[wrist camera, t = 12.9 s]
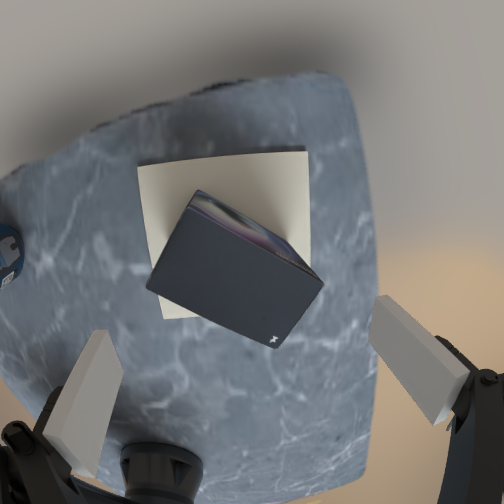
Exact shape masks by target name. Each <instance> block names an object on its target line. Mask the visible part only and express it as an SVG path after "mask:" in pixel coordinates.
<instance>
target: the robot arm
mask: <svg viewBox="0 0 504 504" xmlns="http://www.w3.org/2000/svg"><path fill="white" fill-rule="evenodd" d="M368 342H369V343H370V344H371V345H372V347H373V348H374V349H375V350H376V352H377V353H378V354H379V355H380V357H381V358H382V359H383V361H384V362H385V363H386V364H387V366H388V367H389V368H390V370H391V371H392V372H393V374H394V375H395V376H396V377H397V379H398V380H399V381H400V383H401V384H402V385H403V387H404V388H405V389H406V390H407V392H408V393H409V395H410V396H411V397H412V399H413V400H414V401H415V402H416V404H417V405H418V406H419V408H420V409H421V411H422V412H423V413H424V415H425V416H426V417H427V419H428V420H429V421H430V423H431V424H432V425H433V426H434V425H436V424H438V423H439V422H441V421H443V420H445V419H446V418H447V416H448V415H449V413H450V411H451V410H452V411H453V412H454V413H455V415H454V417H453V418H452V420H451V422H450V424H449V425H448V427H447V429H446V431H448V430H449V429H450V427H451V426H452V429H451V437H450V445H449V451H448V457H447V463H446V468H445V474H444V478H443V482H442V486H441V491H440V495H439V498H438V502H437V504H501V501H502V494H503V493H504V373H503V374H497V373H496V372H494V371H493V370H490V369H482V370H479V369H478V368H476V367H475V366H474V365H473V364H472V363H471V362H470V361H469V360H468V359H467V358H466V357H465V356H464V355H463V354H462V353H459V351H458V350H457V349H456V348H454V346H453V345H452V344H451V343H450V342H449V341H448V340H446V339H444V338H442V337H440V336H438V335H437V336H433V335H432V334H431V333H430V332H428V331H427V330H426V329H425V328H424V327H423V326H422V325H421V324H420V323H419V322H418V321H416V320H415V319H414V318H413V317H412V316H411V315H410V314H409V313H407V312H406V311H405V310H404V309H403V308H402V307H401V306H400V305H398V304H397V303H396V302H395V301H394V300H393V299H392V298H390V297H389V296H388V295H383V296H378V297H375V300H374V307H373V314H372V321H371V328H370V334H369V340H368ZM123 374H124V371H123V369H122V367H121V364H120V362H119V359H118V356H117V354H116V351H115V349H114V346H113V343H112V340H111V338H110V335H109V332H108V329H106V330H94V331H93V333H92V335H91V336H90V338H89V340H88V342H87V344H86V345H85V347H84V349H83V351H82V353H81V355H80V356H79V358H78V360H77V362H76V364H75V366H74V368H73V370H72V372H71V374H70V376H69V377H68V379H67V381H66V383H65V385H64V387H61V386H58V387H57V388H56V389H55V390H54V391H53V392H52V393H51V394H50V396H49V398H48V400H47V402H46V404H45V406H44V408H43V411H42V412H41V414H40V416H39V418H38V420H37V422H36V425H35V427H34V429H33V431H31V430H30V428H28V426H27V425H26V423H24V422H22V421H13V422H10V423H9V424H7V425H6V426H5V428H4V429H3V431H2V434H1V439H2V440H3V441H4V442H5V444H6V445H7V446H1V444H0V504H194V499H195V496H196V494H197V491H198V488H199V486H200V483H201V481H202V478H203V464H202V462H201V460H200V459H199V458H198V457H196V456H195V455H193V454H192V453H190V452H188V451H186V450H183V449H180V448H177V447H174V446H170V445H165V444H159V443H135V444H131V445H128V446H126V447H125V448H124V449H123V450H122V453H121V458H120V466H121V471H122V476H123V480H124V485H125V498H124V497H121V496H119V495H116V494H113V493H110V492H108V491H105V490H103V489H100V488H98V487H95V486H93V485H90V484H88V483H86V482H84V481H82V480H80V479H78V478H75V477H74V475H72V474H71V475H70V473H71V470H72V469H73V470H74V471H75V472H76V473H77V474H78V475H80V476H86V477H91V478H96V474H97V469H98V465H99V461H100V456H101V452H102V448H103V444H104V440H105V436H106V432H107V429H108V425H109V421H110V418H111V414H112V411H113V407H114V404H115V400H116V397H117V394H118V390H119V387H120V384H121V381H122V378H123Z"/></svg>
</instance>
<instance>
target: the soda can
mask: <svg viewBox="0 0 504 504" xmlns="http://www.w3.org/2000/svg"><path fill="white" fill-rule="evenodd" d="M23 262H24V247H23V243H22V240H21V238H20V237H19V235H18V234H17V232H16V231H15V230H14V229H12V228H11V227H9V226H7V225H5V224H1V223H0V290H2V289H3V288H4V287H5V286H6V285H8V284H9V283H10V282H11V281H13V280H14V279H15V278H16V277H18V275H19V274H20V272H21V270H22V267H23Z"/></svg>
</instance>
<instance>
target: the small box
mask: <svg viewBox="0 0 504 504" xmlns="http://www.w3.org/2000/svg"><path fill="white" fill-rule="evenodd" d="M323 287H324V283H323V282H322V281H321V280H320V279H319V277H318V276H317V275H316V274H315V273H314V271H313V270H312V269H311V268H310V267H309V266H308V265H307V263H306V262H305V261H304V260H303V259H302V258H301V257H300V255H299V254H298V253H297V252H296V251H295V250H294V248H293V247H292V246H291V245H290V244H289V243H288V242H287V241H286V240H284V239H283V238H281V237H280V236H278V235H276V234H275V233H273V232H271V231H270V230H268V229H267V228H265V227H263V226H262V225H260V224H258V223H257V222H255V221H253V220H252V219H250V218H248V217H247V216H245V215H243V214H242V213H240V212H238V211H236V210H235V209H233V208H231V207H230V206H228V205H226V204H224V203H223V202H221V201H219V200H217V199H216V198H214V197H212V196H210V195H208V194H207V193H205V192H203V191H201V190H199V189H198V190H196V192H195V193H194V195H193V197H192V198H191V200H190V201H189V203H188V205H187V206H186V208H185V209H184V211H183V213H182V215H181V216H180V218H179V220H178V222H177V224H176V226H175V228H174V229H173V231H172V233H171V235H170V237H169V239H168V241H167V243H166V245H165V247H164V249H163V251H162V253H161V254H160V257H159V259H158V260H157V262H156V265H155V267H154V269H153V271H152V273H151V275H150V277H149V279H148V281H147V283H146V289H148V290H150V291H152V292H154V293H156V294H157V295H159V296H161V297H163V298H165V299H167V300H169V301H171V302H173V303H175V304H177V305H179V306H181V307H183V308H185V309H187V310H189V311H191V312H193V313H195V314H197V315H199V316H201V317H203V318H206V319H208V320H210V321H212V322H214V323H216V324H218V325H220V326H223V327H225V328H227V329H229V330H231V331H234V332H236V333H238V334H240V335H243V336H245V337H247V338H249V339H252V340H254V341H257V342H259V343H261V344H264V345H266V346H268V347H271V348H273V349H279V348H280V346H281V345H282V344H283V342H284V341H285V339H286V338H287V337H288V335H289V334H290V333H291V331H292V330H293V329H294V328H295V326H296V325H297V323H298V322H299V321H300V319H301V318H302V317H303V315H304V314H305V313H306V311H307V310H308V308H309V307H310V306H311V304H312V303H313V301H314V300H315V299H316V297H317V296H318V294H319V293H320V291H321V290H322V289H323Z"/></svg>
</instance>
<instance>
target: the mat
mask: <svg viewBox="0 0 504 504" xmlns="http://www.w3.org/2000/svg"><path fill="white" fill-rule="evenodd" d="M137 170H138V179H139V187H140V195H141V203H142V210H143V216H144V223H145V229H146V235H147V241H148V247H149V252H150V258H151V263H152V268H153V269H154V267H155V265H156V262H157V260H158V259H159V257H160V254H161V253H162V251H163V249H164V247H165V245H166V243H167V241H168V239H169V237H170V235H171V233H172V231H173V229H174V228H175V226H176V224H177V222H178V220H179V218H180V216H181V215H182V213H183V211H184V209H185V208H186V206H187V205H188V203H189V201H190V200H191V198H192V197H193V195H194V193H195V192H196V190H198V189H199V190H201V191H203V192H205V193H207V194H208V195H210V196H212V197H214V198H216V199H217V200H219V201H221V202H223V203H224V204H226V205H228V206H230V207H231V208H233V209H235V210H236V211H238V212H240V213H242V214H243V215H245V216H247V217H248V218H250V219H252V220H253V221H255V222H257V223H258V224H260V225H262V226H263V227H265V228H267V229H268V230H270V231H271V232H273V233H275V234H276V235H278V236H280V237H281V238H283V239H284V240H286V241H287V242H288V243H289V244H290V245H291V246H292V247H293V248H294V250H295V251H296V252H297V253H298V254H299V255H300V257H301V258H302V259H303V260H304V261H305V262H306V263H307V265H308V266H309V267H310V197H309V169H308V151H305V152H275V153H257V154H242V155H230V156H219V157H208V158H199V159H190V160H182V161H174V162H167V163H160V164H153V165H147V166H141V167H137ZM158 297H159V301H160V306H161V310H162V314H163V318H164V319H173V318H185V317H196V316H199V315H197V314H195V313H193V312H191V311H189V310H187V309H185V308H183V307H181V306H179V305H177V304H175V303H173V302H171V301H169V300H167V299H165V298H163V297H161V296H159V295H158Z"/></svg>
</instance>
